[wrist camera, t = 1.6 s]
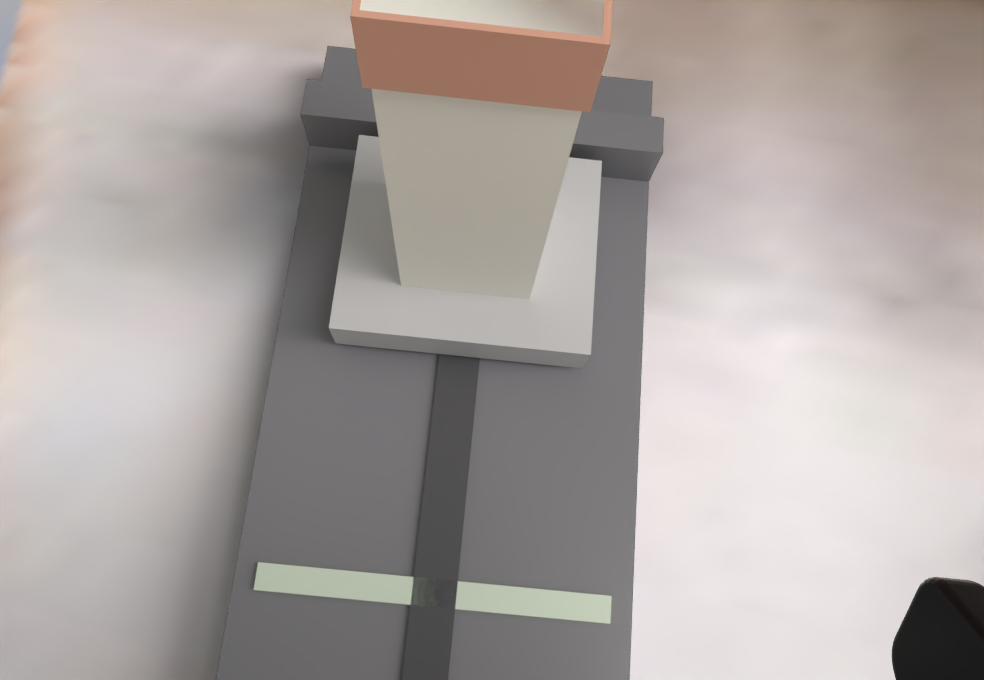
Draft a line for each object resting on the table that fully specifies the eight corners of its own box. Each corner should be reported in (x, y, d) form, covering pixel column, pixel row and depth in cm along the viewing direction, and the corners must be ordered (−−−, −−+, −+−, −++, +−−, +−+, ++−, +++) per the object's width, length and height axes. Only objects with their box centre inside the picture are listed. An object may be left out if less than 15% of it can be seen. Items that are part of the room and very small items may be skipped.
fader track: (602, 999, 18) (631, 1076, 15) (183, 964, 18) (132, 1035, 15) (640, 111, 24) (666, 47, 22) (334, 78, 24) (319, 8, 21)
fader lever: (582, 368, 20) (721, 134, 10) (335, 342, 20) (218, 80, 10) (593, 184, 22) (725, -185, 11) (363, 159, 21) (287, -236, 11)
